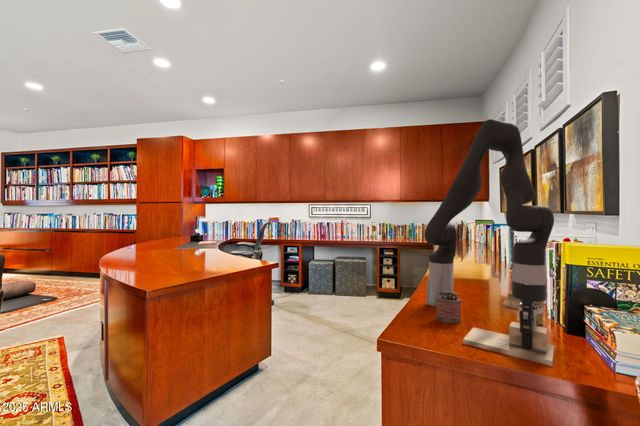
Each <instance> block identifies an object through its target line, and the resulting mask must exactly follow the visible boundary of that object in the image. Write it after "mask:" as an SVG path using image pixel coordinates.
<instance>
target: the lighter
mask: <svg viewBox="0 0 640 426" xmlns="http://www.w3.org/2000/svg"><path fill="white" fill-rule="evenodd" d="M458 294H459V293H457V292H453V293H452V292H451V291H448V292H446V291H438V295H442V297H436V307H435V308H436V310H435V314H436V315H435V320H436V321H438V322H443V323H444V322H445V323H452V324H461V323H462V317H461V316H462V315H461V314H462V313H461V312H462V306H461V305H462V299H460V298H458ZM444 295H445V296H446V297H445V296H444Z"/></svg>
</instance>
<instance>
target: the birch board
mask: <svg viewBox="0 0 640 426" xmlns="http://www.w3.org/2000/svg"><path fill="white" fill-rule="evenodd" d="M462 344H463V345H467V346H473V347H477V348H479V349H484V350H488V351H491V352H496V353H500V354H503V355H508V356H510V357H515V358H518V359H523V360H527V361H531V362H535V363H539V364H543V365H545V366H550V367H553V361H554V356H555V355H554V354H555V345H554V344H550V343H547V352H546V353H542V352H537V351H533V350H529V349H524V348H520V347H516V346H512V345H509V334H505V333H500V332H495V331H491V330H486V329H482V328H478V327H475V326H474V327H472V328H471V330H470V331H469V332H468V333H467V334H466V335H465V337H463V339H462Z"/></svg>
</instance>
